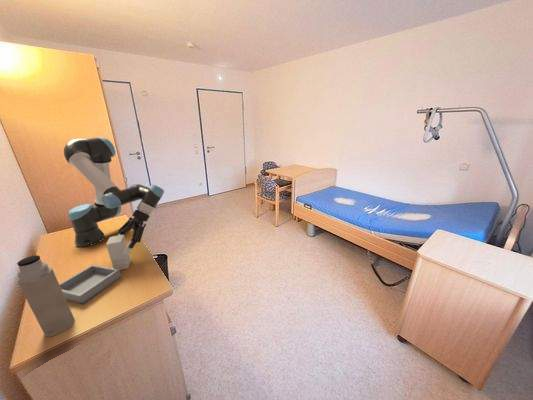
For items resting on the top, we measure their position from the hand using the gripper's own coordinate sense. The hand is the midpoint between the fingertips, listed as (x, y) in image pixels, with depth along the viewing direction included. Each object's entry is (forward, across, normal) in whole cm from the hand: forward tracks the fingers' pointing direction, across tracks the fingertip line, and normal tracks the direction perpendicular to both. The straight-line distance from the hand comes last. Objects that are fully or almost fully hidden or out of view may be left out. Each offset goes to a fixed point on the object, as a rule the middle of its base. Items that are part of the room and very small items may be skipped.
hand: (119, 250), depth 106 cm
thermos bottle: (+27, -20, +14) cm, 36 cm away
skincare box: (+7, +1, -6) cm, 10 cm away
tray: (+18, -4, +5) cm, 19 cm away
